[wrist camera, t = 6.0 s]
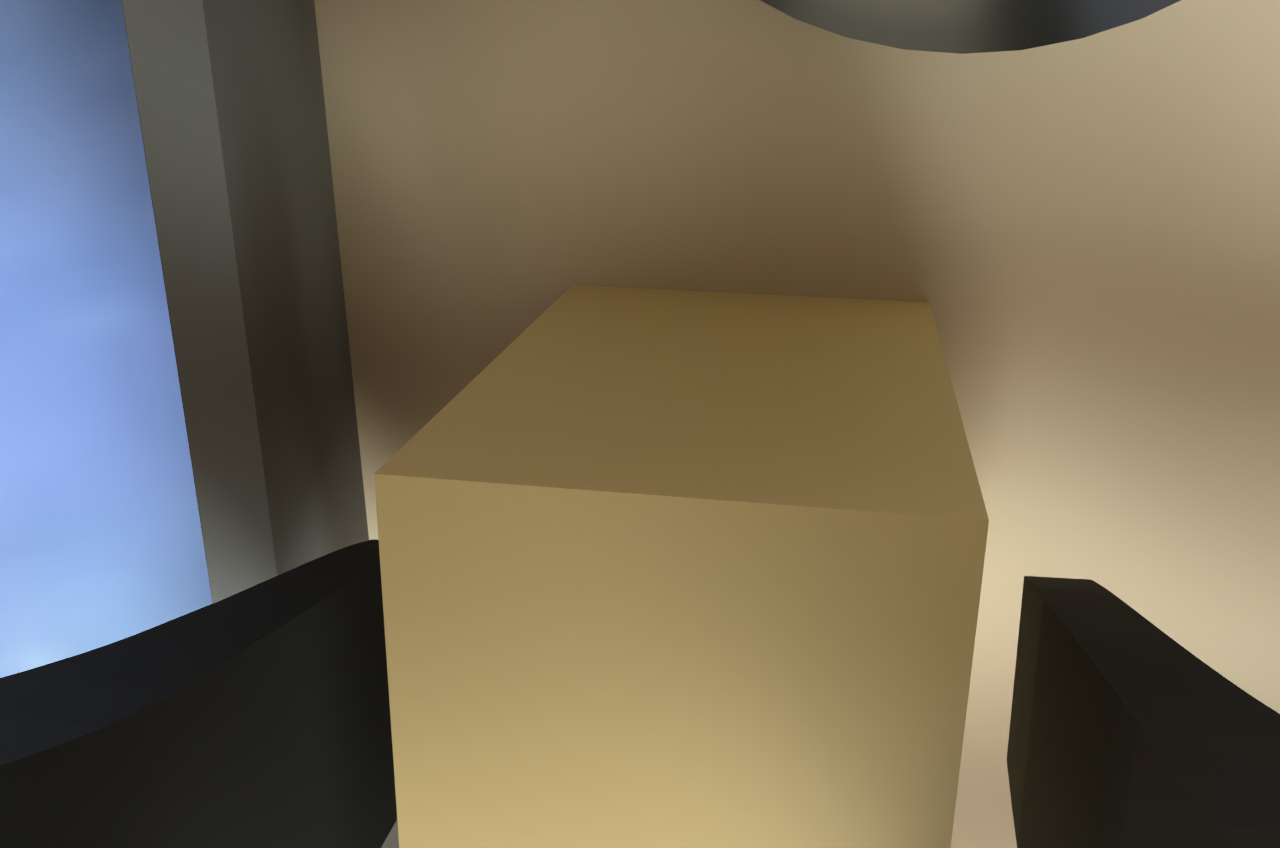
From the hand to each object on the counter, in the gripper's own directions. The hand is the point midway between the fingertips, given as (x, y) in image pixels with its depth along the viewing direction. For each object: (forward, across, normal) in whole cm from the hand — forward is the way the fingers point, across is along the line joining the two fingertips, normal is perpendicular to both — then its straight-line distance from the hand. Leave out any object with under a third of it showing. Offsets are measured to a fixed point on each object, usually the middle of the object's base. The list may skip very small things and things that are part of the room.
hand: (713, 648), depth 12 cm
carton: (+3, 0, 0) cm, 3 cm away
